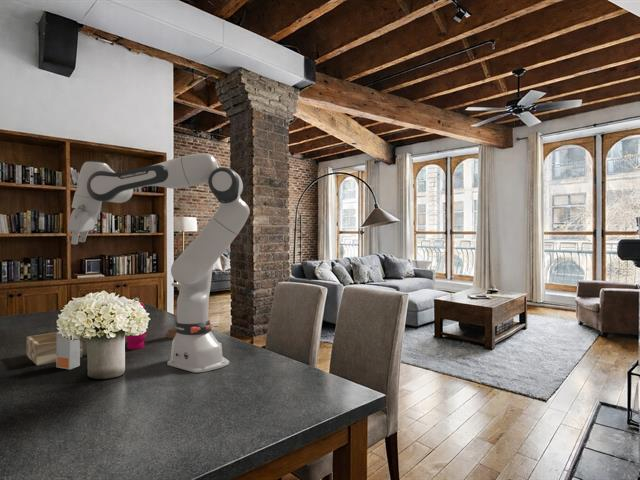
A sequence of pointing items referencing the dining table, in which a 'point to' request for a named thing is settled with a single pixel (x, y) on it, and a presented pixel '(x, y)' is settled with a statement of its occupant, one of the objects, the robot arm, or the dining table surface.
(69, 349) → the skincare box
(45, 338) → the socket box
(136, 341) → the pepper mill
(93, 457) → the dining table surface
